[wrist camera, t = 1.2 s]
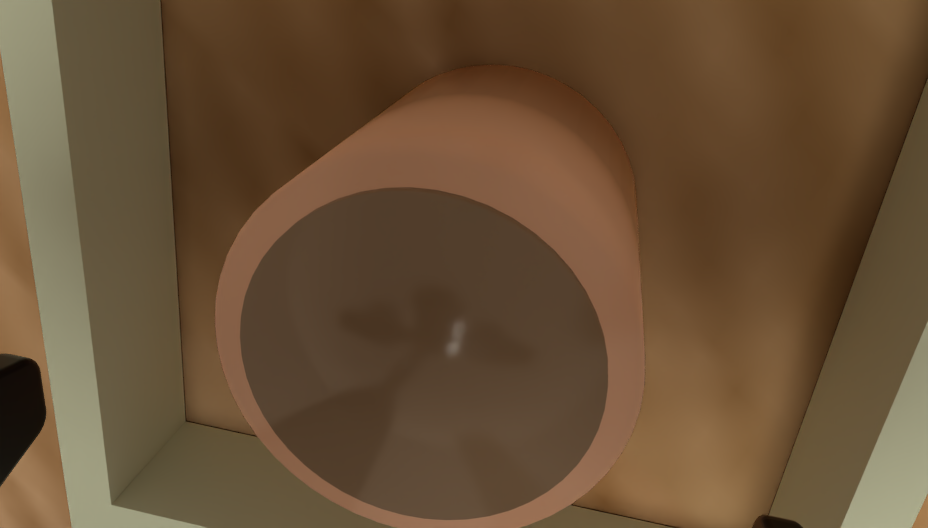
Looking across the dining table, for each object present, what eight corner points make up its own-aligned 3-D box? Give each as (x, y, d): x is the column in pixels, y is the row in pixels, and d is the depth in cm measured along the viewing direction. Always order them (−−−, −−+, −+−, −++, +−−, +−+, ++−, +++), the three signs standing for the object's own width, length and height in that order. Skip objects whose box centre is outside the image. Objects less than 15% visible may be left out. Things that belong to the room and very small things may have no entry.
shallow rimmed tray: (149, 446, 22) (72, 530, 19) (84, -316, 14) (-65, -385, 11) (791, 589, 20) (823, 713, 17) (1121, -229, 12) (1295, -285, 9)
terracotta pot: (353, 303, 19) (215, 496, 13) (367, 45, 16) (198, 118, 10) (607, 352, 18) (598, 584, 12) (665, 87, 15) (695, 198, 9)
